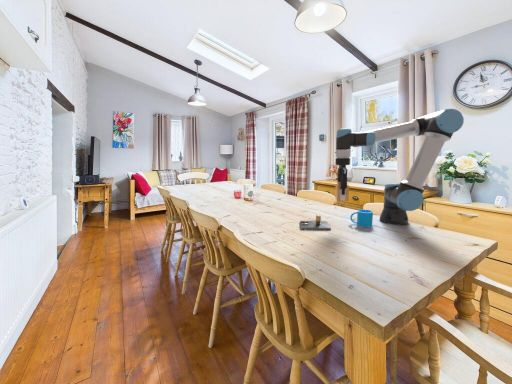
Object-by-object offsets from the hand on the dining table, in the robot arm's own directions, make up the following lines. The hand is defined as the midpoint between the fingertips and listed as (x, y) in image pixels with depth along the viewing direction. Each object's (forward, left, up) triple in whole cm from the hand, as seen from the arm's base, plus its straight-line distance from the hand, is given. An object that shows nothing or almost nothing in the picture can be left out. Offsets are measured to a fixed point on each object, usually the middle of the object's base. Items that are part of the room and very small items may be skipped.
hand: (341, 199), depth 137 cm
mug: (-13, -5, -16) cm, 21 cm away
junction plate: (+14, 0, -16) cm, 21 cm away
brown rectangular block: (0, 0, 0) cm, 0 cm away
